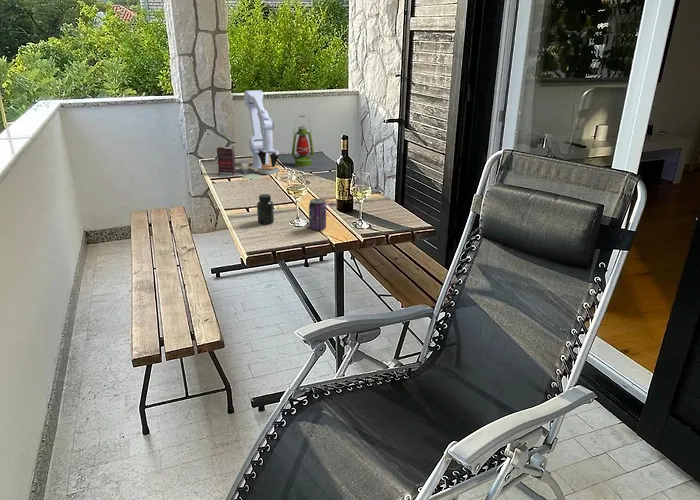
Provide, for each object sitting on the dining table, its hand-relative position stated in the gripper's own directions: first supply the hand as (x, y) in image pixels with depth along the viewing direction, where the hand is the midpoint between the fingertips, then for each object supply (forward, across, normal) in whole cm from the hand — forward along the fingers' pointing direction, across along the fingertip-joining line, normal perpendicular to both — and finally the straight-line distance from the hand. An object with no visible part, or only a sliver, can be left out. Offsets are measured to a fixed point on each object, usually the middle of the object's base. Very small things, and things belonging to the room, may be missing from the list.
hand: (268, 165), depth 303 cm
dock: (+4, -12, -7) cm, 15 cm away
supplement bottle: (+5, +55, -62) cm, 83 cm away
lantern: (+5, +4, +26) cm, 27 cm away
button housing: (+4, 0, 0) cm, 4 cm away
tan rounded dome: (+4, 0, 0) cm, 4 cm away
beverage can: (+5, +77, -54) cm, 94 cm away
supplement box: (+5, -15, -18) cm, 24 cm away
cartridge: (+4, -12, -7) cm, 14 cm away
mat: (+4, -1, -12) cm, 13 cm away
